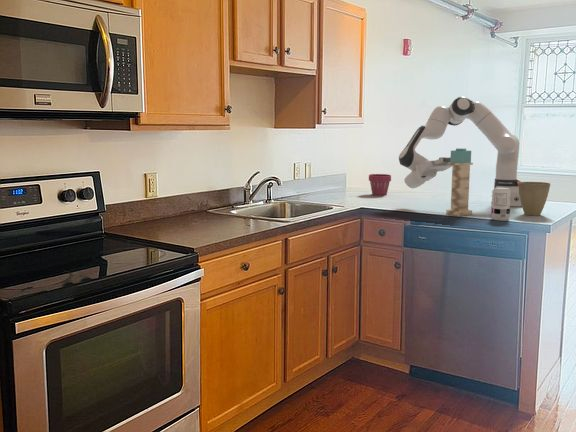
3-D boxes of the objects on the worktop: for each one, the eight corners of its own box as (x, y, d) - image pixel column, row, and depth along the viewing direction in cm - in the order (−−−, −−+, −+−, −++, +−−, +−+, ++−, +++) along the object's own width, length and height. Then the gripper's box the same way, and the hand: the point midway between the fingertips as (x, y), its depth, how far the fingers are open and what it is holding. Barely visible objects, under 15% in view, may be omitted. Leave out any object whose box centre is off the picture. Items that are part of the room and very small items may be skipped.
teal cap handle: (436, 161, 300) (436, 147, 299) (445, 161, 304) (445, 147, 302) (461, 163, 287) (462, 149, 286) (470, 162, 291) (471, 148, 290)
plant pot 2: (553, 214, 293) (555, 182, 290) (540, 217, 283) (542, 185, 280) (524, 211, 304) (526, 180, 301) (510, 214, 293) (512, 182, 291)
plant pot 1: (394, 195, 368) (395, 175, 366) (374, 196, 364) (374, 176, 362) (384, 193, 382) (385, 173, 380) (364, 194, 378) (365, 174, 376)
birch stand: (446, 213, 296) (448, 162, 292) (457, 212, 302) (459, 161, 297) (460, 216, 289) (462, 163, 285) (472, 214, 294) (474, 162, 290)
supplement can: (487, 218, 282) (489, 187, 280) (501, 217, 285) (502, 186, 282) (498, 221, 275) (500, 189, 272) (513, 220, 277) (514, 188, 275)
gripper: (443, 175, 314) (462, 163, 303) (417, 177, 303) (435, 165, 292) (439, 164, 316) (457, 152, 305) (413, 166, 304) (431, 154, 294)
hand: (446, 158), depth 298 cm, fingers open, 5 cm apart
